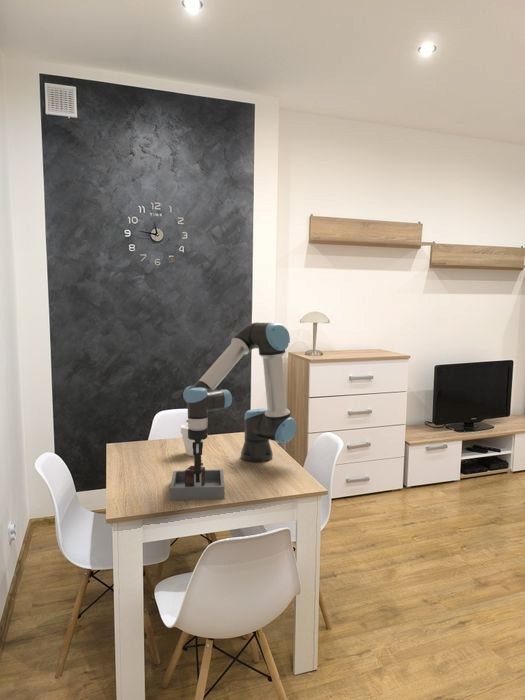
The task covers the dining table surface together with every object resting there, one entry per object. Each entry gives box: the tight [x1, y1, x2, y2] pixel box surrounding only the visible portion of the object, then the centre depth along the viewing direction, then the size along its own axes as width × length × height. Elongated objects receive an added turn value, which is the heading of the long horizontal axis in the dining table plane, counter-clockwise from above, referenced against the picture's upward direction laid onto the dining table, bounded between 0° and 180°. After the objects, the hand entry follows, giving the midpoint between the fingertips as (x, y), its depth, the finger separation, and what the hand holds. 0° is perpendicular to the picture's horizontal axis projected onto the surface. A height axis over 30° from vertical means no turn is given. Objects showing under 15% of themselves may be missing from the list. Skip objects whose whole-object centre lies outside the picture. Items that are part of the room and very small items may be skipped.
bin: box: [169, 468, 225, 502], centre depth 192 cm, size 20×20×5 cm
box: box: [185, 465, 206, 487], centre depth 192 cm, size 6×6×7 cm
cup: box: [180, 423, 205, 457], centre depth 239 cm, size 12×12×14 cm
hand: (198, 486), depth 192 cm, fingers closed on box, 7 cm apart
